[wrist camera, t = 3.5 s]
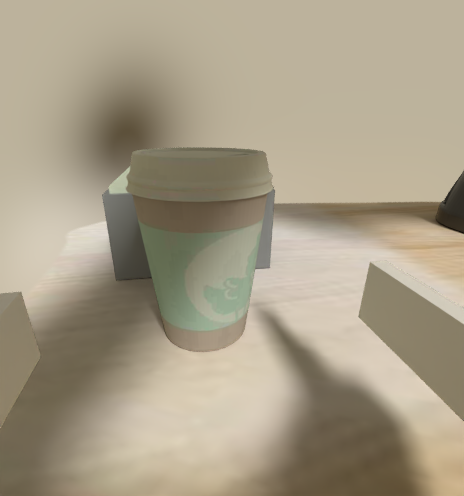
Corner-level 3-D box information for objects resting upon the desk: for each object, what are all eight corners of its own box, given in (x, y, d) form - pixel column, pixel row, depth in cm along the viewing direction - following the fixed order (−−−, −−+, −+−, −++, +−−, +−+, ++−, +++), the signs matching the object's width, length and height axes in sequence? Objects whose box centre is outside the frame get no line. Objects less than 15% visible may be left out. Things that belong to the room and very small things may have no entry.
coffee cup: (172, 392, 16) (150, 161, 11) (130, 312, 22) (106, 148, 18) (289, 336, 20) (309, 154, 15) (225, 284, 26) (225, 145, 22)
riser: (238, 223, 43) (239, 164, 40) (269, 267, 30) (275, 183, 26) (134, 229, 40) (126, 166, 37) (116, 280, 27) (101, 187, 24)
